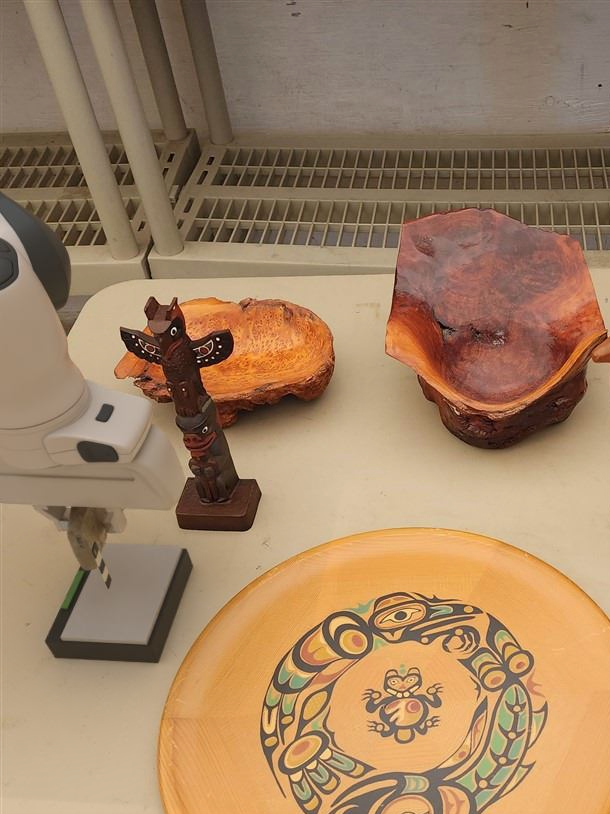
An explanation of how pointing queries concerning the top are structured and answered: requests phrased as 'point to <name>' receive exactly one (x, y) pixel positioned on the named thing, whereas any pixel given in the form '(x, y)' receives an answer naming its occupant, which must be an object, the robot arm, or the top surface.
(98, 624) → the scale
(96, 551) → the brown stone with scale
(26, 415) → the robot arm
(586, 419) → the top surface
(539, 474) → the top surface
